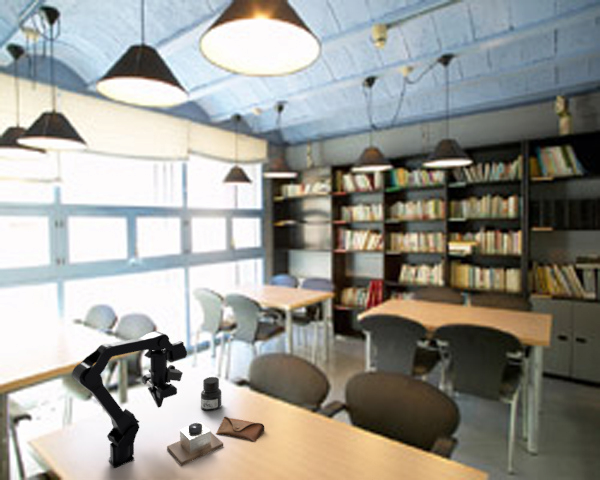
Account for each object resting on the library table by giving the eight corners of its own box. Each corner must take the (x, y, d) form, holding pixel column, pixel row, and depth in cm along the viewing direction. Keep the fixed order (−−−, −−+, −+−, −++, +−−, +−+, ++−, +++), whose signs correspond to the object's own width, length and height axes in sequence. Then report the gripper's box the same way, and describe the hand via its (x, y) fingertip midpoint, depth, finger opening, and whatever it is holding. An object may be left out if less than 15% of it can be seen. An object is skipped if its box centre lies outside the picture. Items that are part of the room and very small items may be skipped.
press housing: (190, 454, 125) (189, 439, 125) (180, 444, 131) (180, 429, 131) (210, 445, 131) (210, 430, 131) (200, 435, 137) (200, 421, 136)
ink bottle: (196, 409, 158) (196, 382, 157) (207, 400, 166) (206, 374, 166) (215, 413, 155) (215, 385, 155) (225, 403, 164) (225, 377, 163)
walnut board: (181, 465, 121) (181, 462, 121) (167, 449, 130) (167, 446, 130) (223, 446, 132) (223, 443, 132) (207, 432, 141) (207, 429, 141)
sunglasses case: (213, 434, 139) (217, 415, 142) (220, 434, 145) (224, 416, 148) (256, 442, 134) (260, 422, 137) (262, 442, 140) (265, 423, 143)
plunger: (192, 448, 128) (192, 431, 127) (186, 442, 131) (186, 426, 131) (204, 443, 131) (204, 426, 131) (198, 437, 134) (198, 421, 134)
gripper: (190, 367, 133) (190, 409, 133) (169, 354, 146) (170, 391, 147) (160, 376, 125) (160, 420, 126) (141, 361, 139) (142, 400, 139)
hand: (159, 406), depth 135 cm, fingers closed
